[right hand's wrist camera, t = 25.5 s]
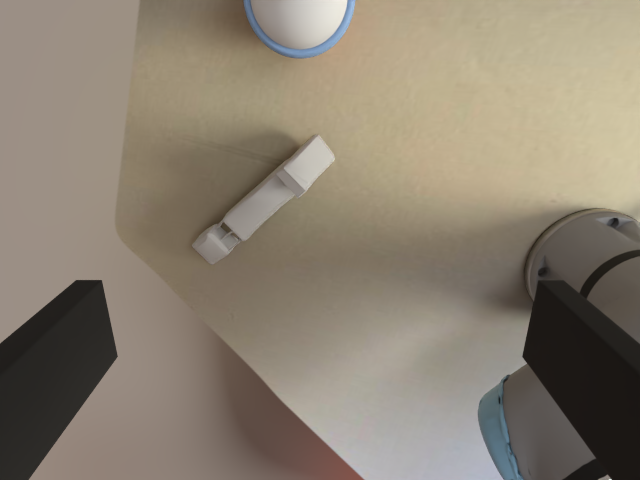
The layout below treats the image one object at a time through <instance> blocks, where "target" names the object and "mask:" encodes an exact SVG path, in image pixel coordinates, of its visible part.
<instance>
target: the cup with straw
mask: <svg viewBox="0 0 640 480" xmlns="http://www.w3.org/2000/svg"><path fill="white" fill-rule="evenodd" d="M243 1H244V8H245V12H246V15H247V18H248V21H249V23H250V25H251V27H252V29H253V30H254V32H255V34H256V35H257V36H258V38H259V39H260V40H261V41H262V42H263V43H264V44H265V45H266V46H267V47H269V48H270V49H272V50H273V51H275V52H277V53H279V54H281V55H284V56H287V57H291V58H310V57H314V56H317V55H319V54H322V53H324V52H325V51H327V50H329V49H330V48H331V47H333V46H334V45H335V44H336V43H337V42H338V41H339V40H340V39H341V37H342V36H343V35H344V33H345V31H346V30H347V28H348V26H349V24H350V21H351V18H352V15H353V11H354V6H355V0H243Z"/></svg>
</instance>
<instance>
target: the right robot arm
mask: <svg viewBox="0 0 640 480" xmlns="http://www.w3.org/2000/svg"><path fill="white" fill-rule="evenodd" d="M525 284H526V288H527V291H528V293H529V295H530V297H531V298H532V300H533V301H534V303H533V308H532V313H531V318H530V322H529V327H528V332H527V337H526V342H525V346H524V351H523V356H522V357H523V358H524V360H525V361H526V362H527V364H526V365H525V366H523V367H522V368H520V369H519V370H517V371H516V372H514V373H513V374H511V375H507V376H505V377H504V378H503V379H502V380H501V382H500V383H499V384H498V385H497V386H496V387H494V388H493V389H492V390H490V391H489V392H488V393H486V394H485V395H484V396H483V397H482V399H481V400H480V403H479V408H478V421H479V426H480V430H481V433H482V436H483V439H484V442H485V444H486V447H487V449H488V451H489V453H490V456H491V458H492V460H493V462H494V464H495V466H496V468H497V469H498V471H499V473H500V475H501V476H502V478H503V479H504V480H640V223H639V222H638V221H637V220H635V219H633V218H632V217H629V216H627V215H625V214H623V213H620V212H617V211H614V210H609V209H589V210H584V211H580V212H577V213H574V214H571V215H569V216H567V217H565V218H563V219H561V220H559V221H558V222H556V223H555V224H553V225H552V226H551V227H550V228H548V229H547V230H546V231H545V232H544V233H543V234H542V235H541V236H540V238H539V239H538V240H537V241H536V243H535V244H534V246H533V248H532V249H531V251H530V253H529V256H528V258H527V262H526V266H525ZM117 357H118V356H117V351H116V346H115V342H114V337H113V332H112V327H111V323H110V318H109V313H108V308H107V303H106V298H105V294H104V289H103V284H102V280H76V281H75V282H74V283H72V284H71V285H70V286H69V287H68V288H66V289H65V290H64V291H63V292H62V293H60V294H59V295H58V296H57V297H56V298H54V299H53V300H52V301H51V302H50V303H48V304H47V305H46V306H45V307H44V308H42V309H41V310H40V311H39V312H38V313H36V314H35V315H34V316H33V317H32V318H30V319H29V320H28V321H27V322H26V323H24V324H23V325H22V326H21V327H20V328H18V329H17V330H16V331H15V332H14V333H12V334H11V335H10V336H9V337H8V338H6V339H5V340H4V341H3V342H2V343H0V480H29V478H30V477H31V476H32V474H33V473H34V471H35V470H36V469H37V467H38V466H39V464H40V463H41V462H42V460H43V459H44V458H45V456H46V455H47V453H48V452H49V451H50V449H51V448H52V447H53V445H54V444H55V442H56V441H57V440H58V438H59V437H60V435H61V434H62V433H63V431H64V430H65V429H66V427H67V426H68V424H69V423H70V422H71V420H72V419H73V418H74V416H75V415H76V413H77V412H78V411H79V409H80V408H81V406H82V405H83V404H84V402H85V401H86V400H87V398H88V397H89V395H90V394H91V393H92V391H93V390H94V389H95V387H96V386H97V384H98V383H99V382H100V380H101V379H102V377H103V376H104V375H105V373H106V372H107V371H108V369H109V368H110V366H111V365H112V364H113V362H114V361H115V360H116V358H117Z"/></svg>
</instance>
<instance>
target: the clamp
mask: <svg viewBox="0 0 640 480" xmlns="http://www.w3.org/2000/svg"><path fill="white" fill-rule="evenodd" d="M334 159H335V157H334V154H333V152H332V151H331V150H330V148H329V147H328V146H327V145H326V143H325V142H324V141H323V139H322V138H321V137H320V136H319V134H315V135H313V136H312V137H311V138H310V139H309V140H307V141H306V142H305V143H304V144H303V145H302V146H301V147H300V148H299V149H298V150H297V151H296V152H295V153H294V154H293V155H292V156H291V158H289V159H287V160H285V161H284V162H283V163H282V164H281V165H280V166H278V167H277V168H276V169H275V170H274V171H273V172H272V173H271V174H270V175H269V176H267V177H266V178H265V179H264V180H263V181H262V182H261V183H260V184H258V185H257V186H256V187H255V188H254V189H253V190H252V191H251V192H250V193H248V194H247V195H246V196H245V197H244V198H243V199H242V200H241V201H239V202H238V203H237V204H236V205H235V206H234V207H233V208H232V209H230V210H229V211H228V212H227V213H226V215H225V217H224V218H223V220H222V221H221V222H220V223H219V224H214V225H212V226H211V227H209V228H207V229H206V230H205V231H204V232H202V233H201V234H200V235H199V236H198V238H197V239H196V240H195V242H194V243H193V244H192V247H193V248H194V249H195V250H196V251H197V252H198V253H199V254H200V255H201V256H202V257H203V258H204V259H206V260H207V261H208V262H209V263H210V264H211V265H212V264H214V263H216V262H218V261H219V260H221V259H222V258H224V257H225V256H227V255H228V254H229V253H230V252H231V251H232V249H233V248H234V247H235V246H236V245H237V244H238V243H240V242H241V241H245V240H247V239H248V238H249V237H250V236H251V235H252V234H253V233H254V232H255V231H256V230H257V229H258V228H259V227H260V226H261V225H262V224H263V223H264V222H265V221H266V220H267V219H268V218H269V217H270V216H271V215H273V214H274V213H275V212H276V211H277V210H278V209H279V208H280V207H282V206H283V205H284V204H285V203H286V202H288V201H289V200H290V199H291V198H293V197H294V196H296V197H297V198H299V197H300V196H301V195H302V194H304V193H305V192H306V191H307V190H308V188H309V187H310V186H311V185H312V184H313V183H314V181H315V180H316V179H317V178H318V177H319V176H320V175H321V174H322V173H323V172H324V171H325V170H326V169H327V168H328V167H329V166H330V165H331V164H332V163H333V161H334ZM223 222H224V223H225V224H226V225H227V226H228V227H229V228H230V229H231V231H230V232H229V233H228V232H226V231H225V230H224V229H222V228H221V227H220V226H221V225H222V223H223ZM233 232H234V233H235V234H236V235H237V236H238V237H239V238H238V239H237V238H236V237H234V236H232V235H231V233H233ZM239 239H241V240H239ZM238 240H239V241H238Z"/></svg>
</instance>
